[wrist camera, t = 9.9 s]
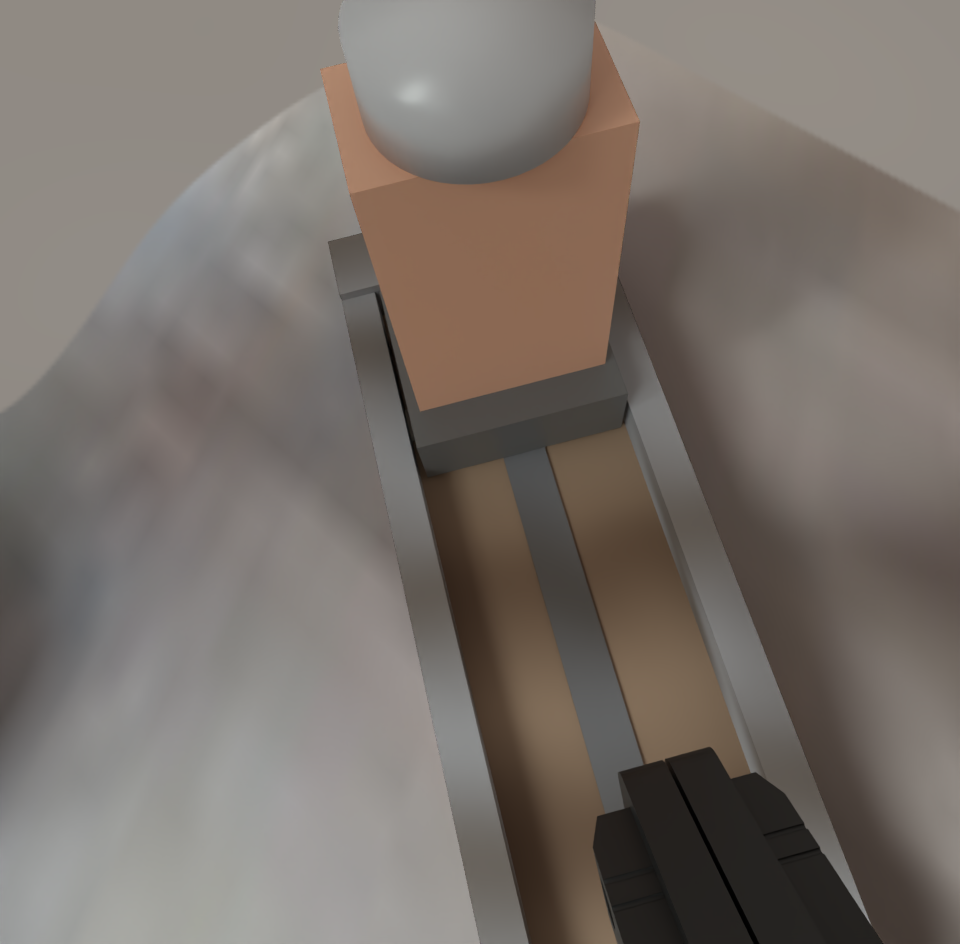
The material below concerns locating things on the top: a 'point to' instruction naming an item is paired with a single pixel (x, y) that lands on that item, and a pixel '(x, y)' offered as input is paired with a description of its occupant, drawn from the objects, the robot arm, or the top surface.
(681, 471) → the fader track
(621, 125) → the slider tab
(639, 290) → the top surface
